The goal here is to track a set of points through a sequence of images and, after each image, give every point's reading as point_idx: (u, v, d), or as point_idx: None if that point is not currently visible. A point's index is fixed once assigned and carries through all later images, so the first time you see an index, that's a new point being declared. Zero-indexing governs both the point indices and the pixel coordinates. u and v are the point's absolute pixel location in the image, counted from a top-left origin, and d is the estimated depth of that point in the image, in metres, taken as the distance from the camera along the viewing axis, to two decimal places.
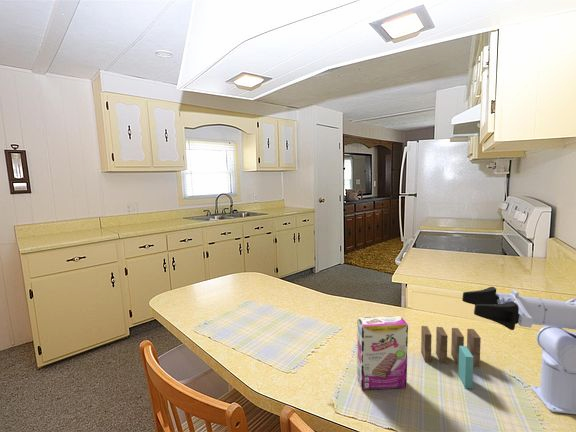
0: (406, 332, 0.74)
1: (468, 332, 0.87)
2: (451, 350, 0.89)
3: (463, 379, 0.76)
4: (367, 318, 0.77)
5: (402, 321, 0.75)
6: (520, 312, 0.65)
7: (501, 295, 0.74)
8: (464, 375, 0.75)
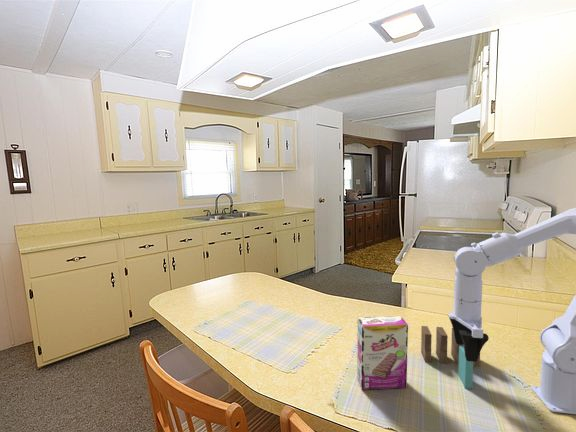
0: (406, 332, 0.74)
1: None
2: (451, 350, 0.89)
3: (463, 379, 0.76)
4: (367, 318, 0.77)
5: (402, 321, 0.75)
6: None
7: None
8: (464, 375, 0.75)
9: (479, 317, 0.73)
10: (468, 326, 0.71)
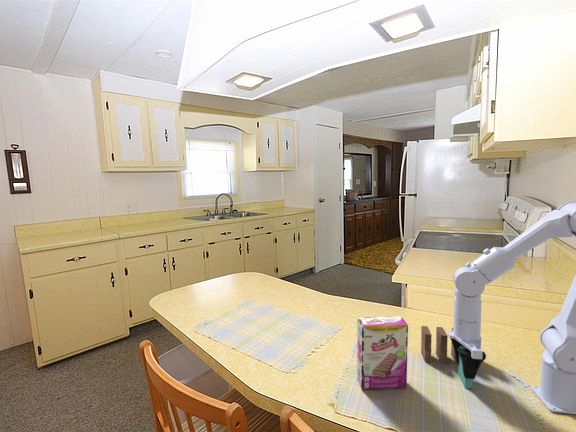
0: (406, 332, 0.74)
1: None
2: (451, 350, 0.89)
3: (463, 379, 0.76)
4: (367, 318, 0.77)
5: (402, 321, 0.75)
6: None
7: None
8: None
9: (478, 337, 0.73)
10: (467, 347, 0.71)
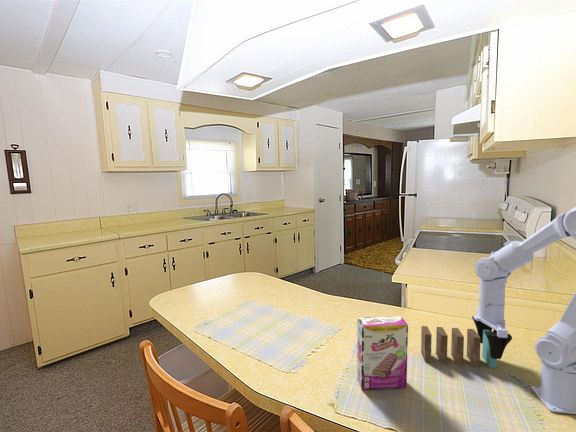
0: (406, 332, 0.74)
1: (468, 332, 0.87)
2: (451, 350, 0.89)
3: (487, 359, 0.84)
4: (367, 318, 0.77)
5: (402, 321, 0.75)
6: None
7: None
8: (488, 355, 0.83)
9: (502, 319, 0.81)
10: (493, 327, 0.79)
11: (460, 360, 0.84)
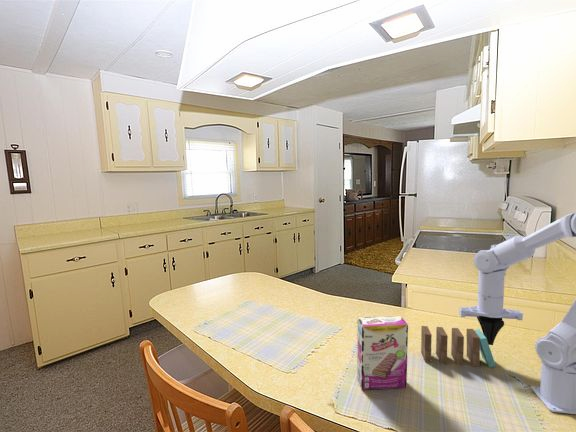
0: (406, 332, 0.74)
1: (467, 332, 0.87)
2: (451, 350, 0.89)
3: (485, 359, 0.84)
4: (367, 318, 0.77)
5: (402, 321, 0.75)
6: None
7: None
8: (485, 356, 0.83)
9: (484, 310, 0.82)
10: None
11: (460, 360, 0.84)
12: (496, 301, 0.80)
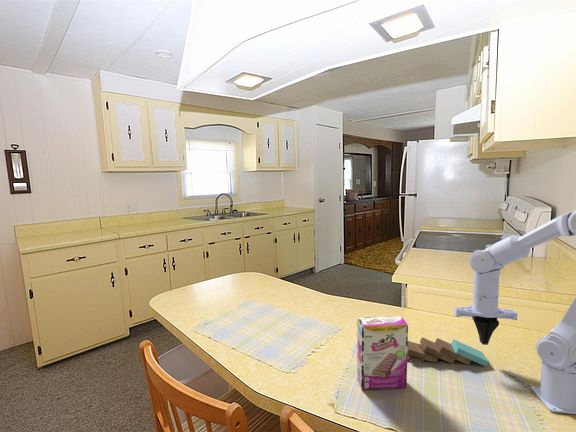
0: (406, 332, 0.74)
1: None
2: None
3: None
4: (367, 318, 0.77)
5: (402, 321, 0.75)
6: None
7: None
8: None
9: (479, 310, 0.82)
10: None
11: (449, 358, 0.85)
12: (491, 301, 0.80)
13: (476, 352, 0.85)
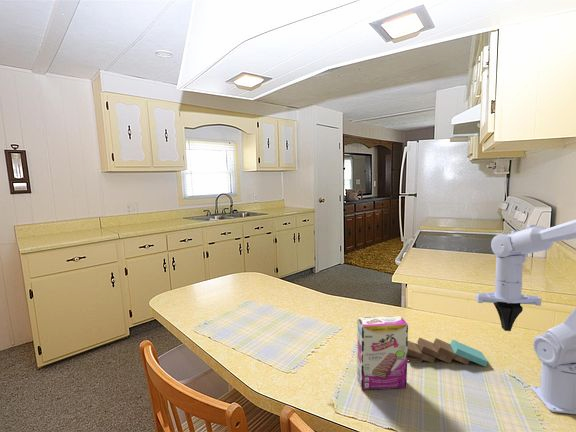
0: (406, 332, 0.74)
1: None
2: None
3: None
4: (367, 318, 0.77)
5: (402, 321, 0.75)
6: None
7: None
8: None
9: (502, 296, 0.81)
10: None
11: (446, 358, 0.85)
12: (515, 286, 0.79)
13: (475, 353, 0.85)
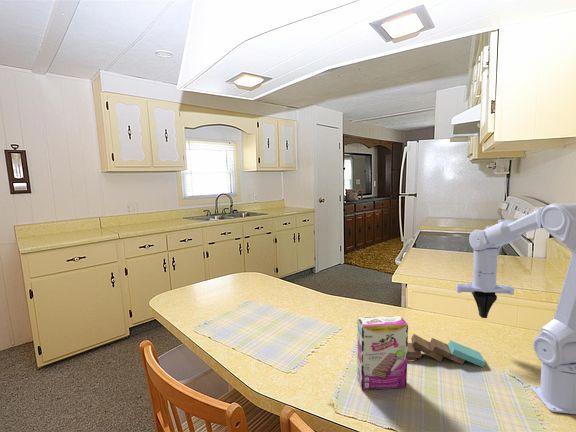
0: (406, 332, 0.74)
1: None
2: None
3: None
4: (367, 318, 0.77)
5: (402, 321, 0.75)
6: None
7: None
8: None
9: (479, 286, 0.89)
10: None
11: (436, 356, 0.86)
12: (489, 277, 0.87)
13: (473, 353, 0.85)
